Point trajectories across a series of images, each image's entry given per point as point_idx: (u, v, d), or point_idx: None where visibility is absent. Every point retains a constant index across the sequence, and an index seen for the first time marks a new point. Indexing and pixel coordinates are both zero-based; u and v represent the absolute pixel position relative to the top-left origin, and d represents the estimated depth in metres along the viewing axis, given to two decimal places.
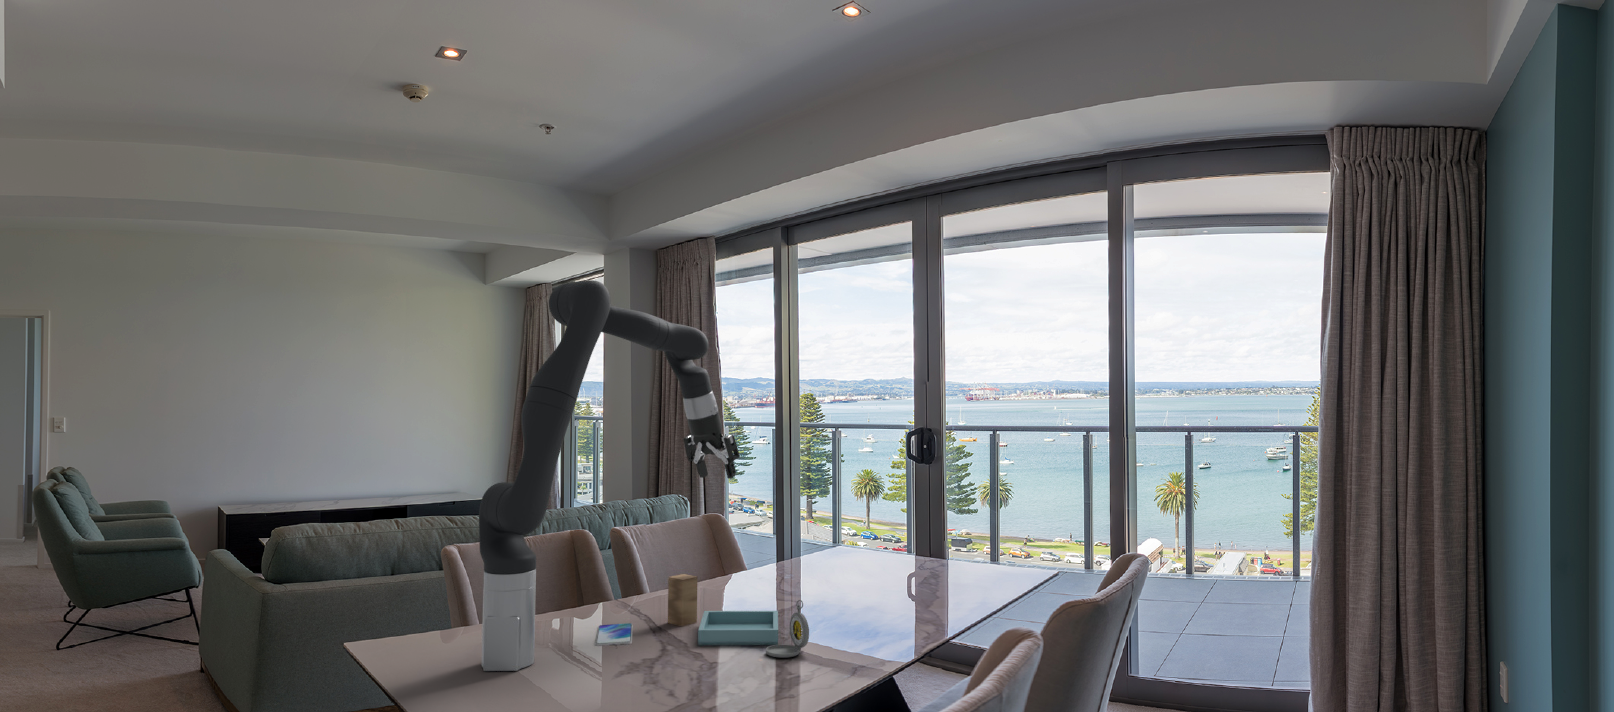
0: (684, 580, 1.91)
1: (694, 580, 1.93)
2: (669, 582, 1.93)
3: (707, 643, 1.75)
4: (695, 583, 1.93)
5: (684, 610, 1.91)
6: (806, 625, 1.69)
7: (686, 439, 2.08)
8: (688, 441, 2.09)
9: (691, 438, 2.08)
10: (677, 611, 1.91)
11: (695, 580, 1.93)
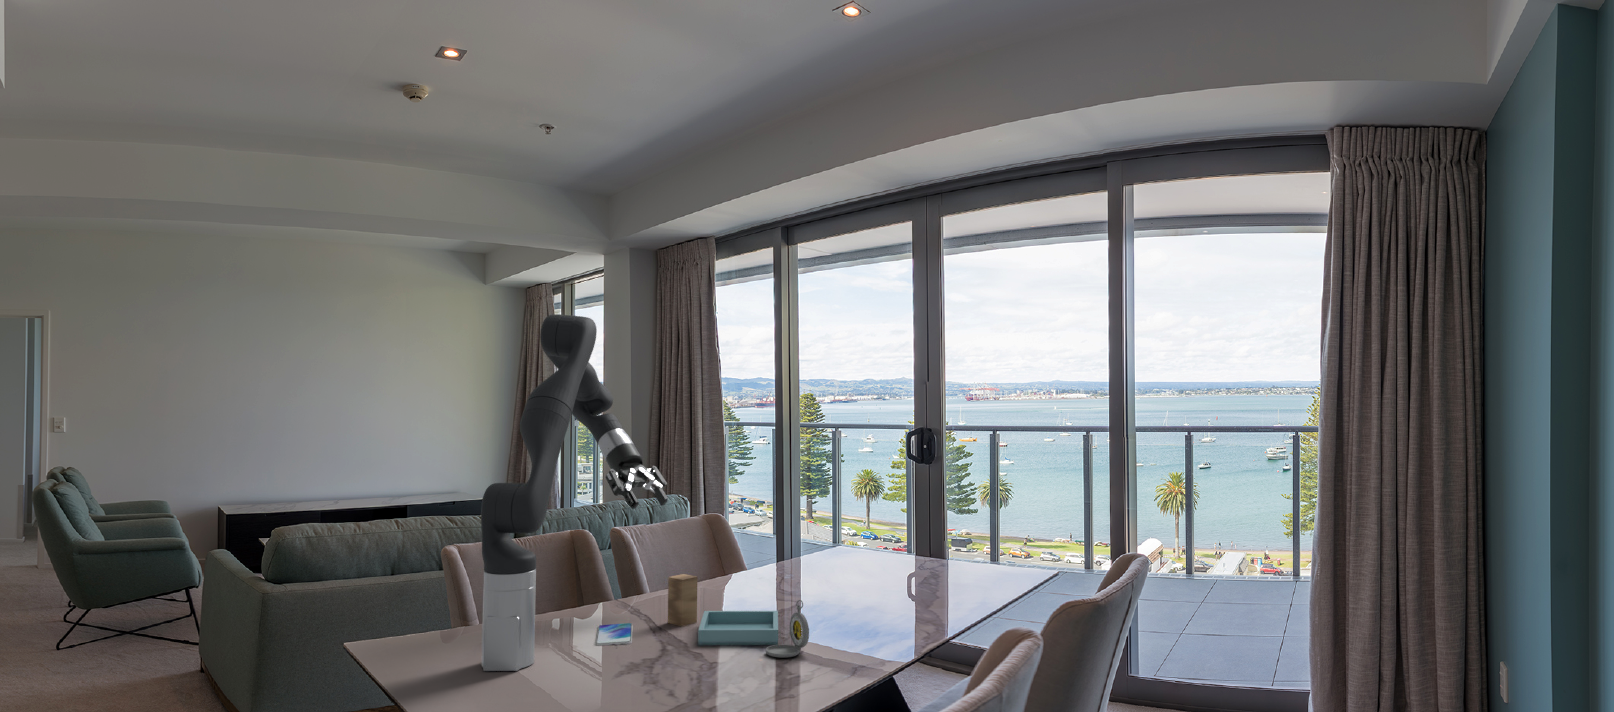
0: (684, 580, 1.91)
1: (694, 580, 1.93)
2: (669, 582, 1.93)
3: (707, 643, 1.75)
4: (695, 583, 1.93)
5: (684, 610, 1.91)
6: (806, 625, 1.69)
7: (613, 470, 2.01)
8: None
9: (615, 472, 2.02)
10: (677, 611, 1.91)
11: (695, 580, 1.93)
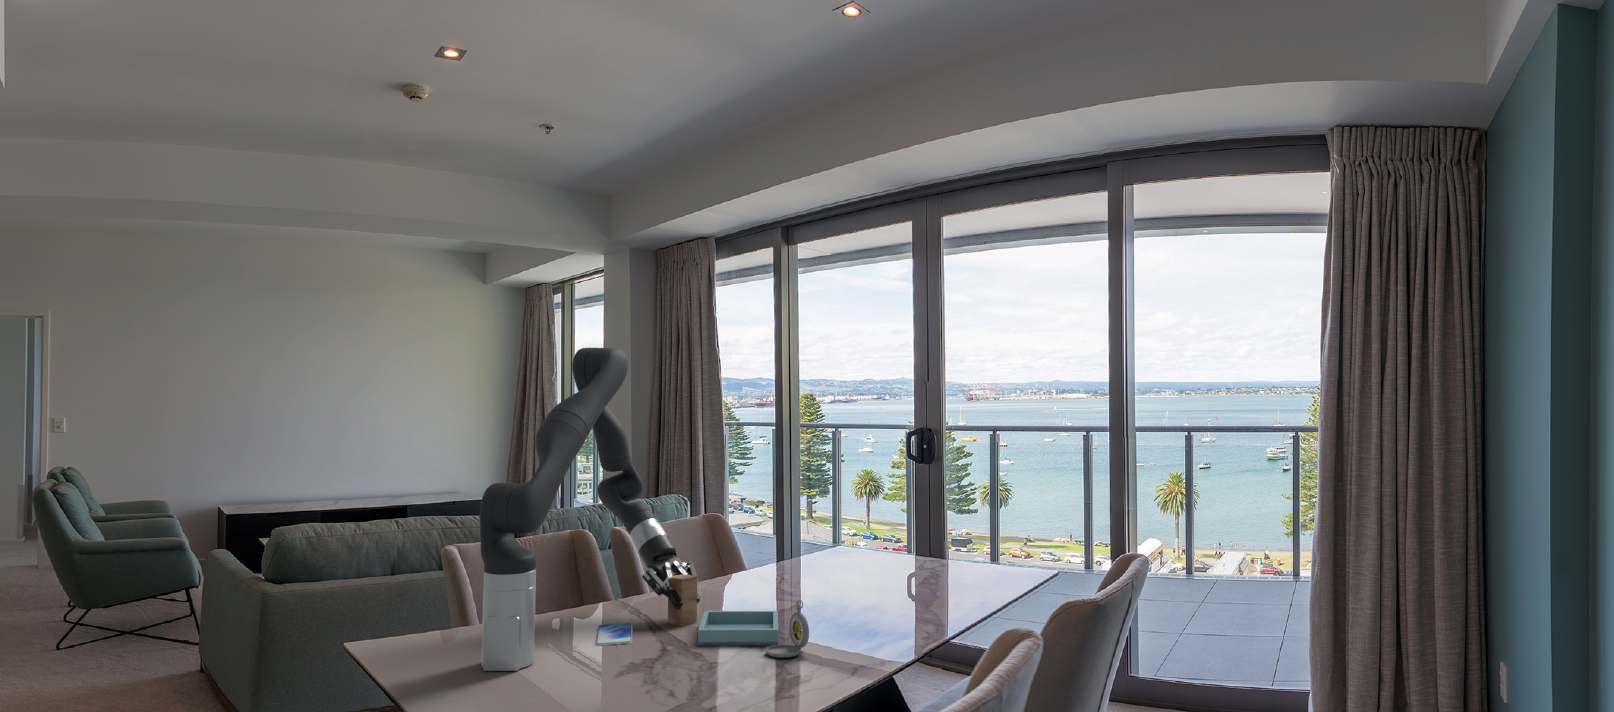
0: (684, 580, 1.91)
1: (694, 580, 1.93)
2: None
3: (707, 643, 1.75)
4: (695, 583, 1.93)
5: (683, 609, 1.91)
6: (806, 625, 1.69)
7: (650, 569, 1.92)
8: None
9: (651, 569, 1.93)
10: (677, 611, 1.91)
11: (695, 580, 1.93)
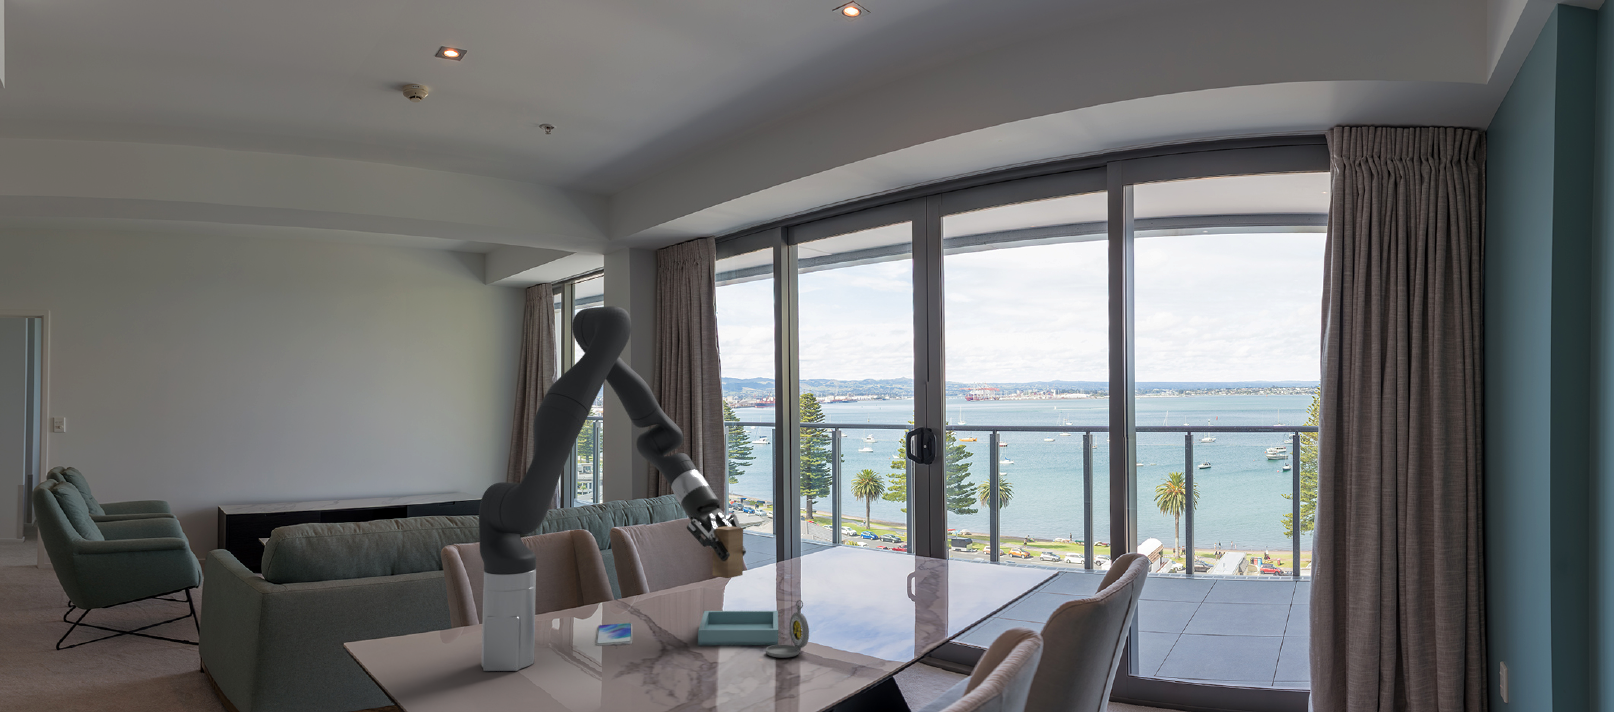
0: (730, 531, 1.84)
1: (739, 532, 1.87)
2: None
3: (707, 643, 1.75)
4: (741, 534, 1.87)
5: (730, 561, 1.84)
6: (806, 625, 1.69)
7: (695, 519, 1.85)
8: None
9: None
10: (723, 563, 1.84)
11: (741, 531, 1.87)
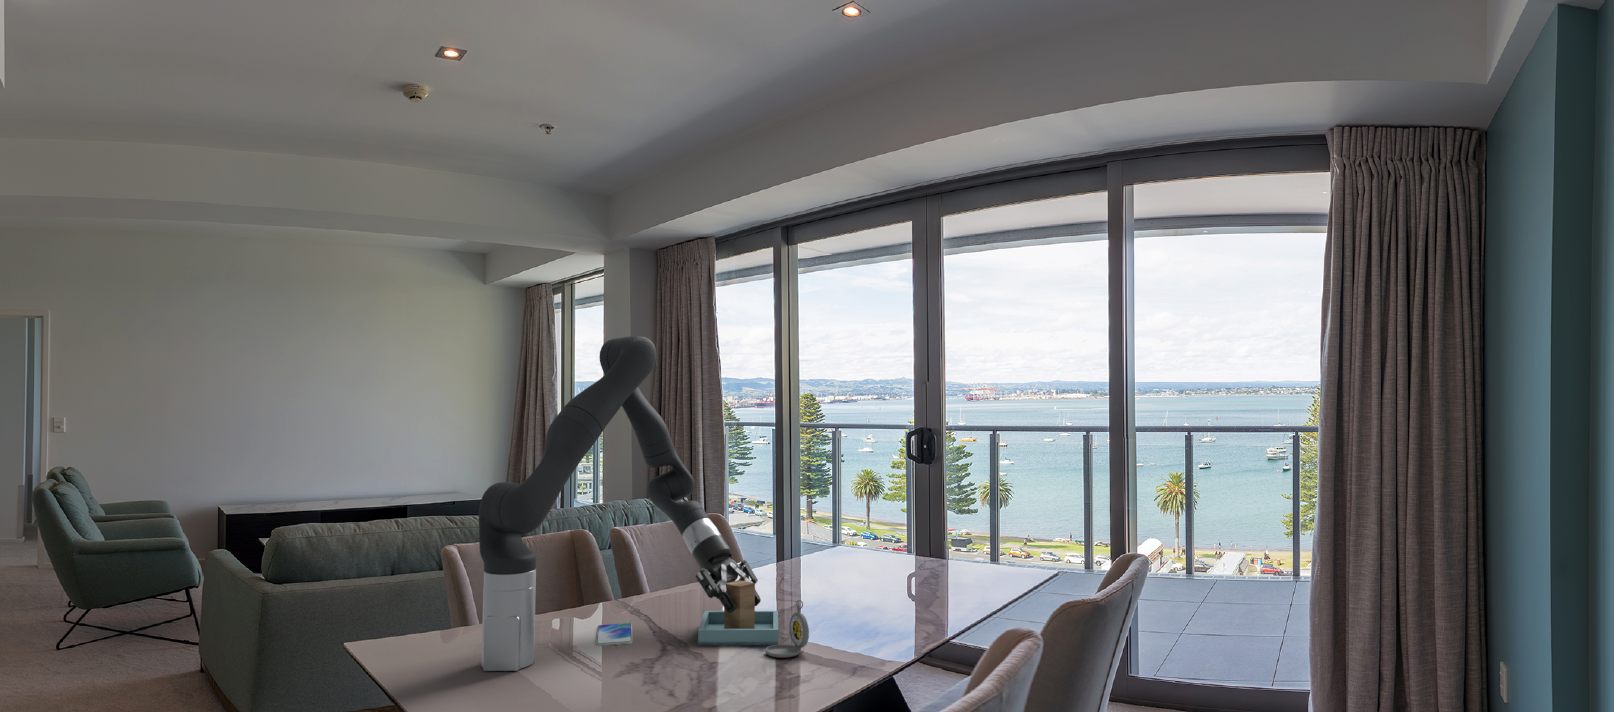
0: (742, 587, 1.81)
1: (751, 587, 1.84)
2: None
3: (707, 643, 1.75)
4: (752, 590, 1.84)
5: (741, 618, 1.81)
6: (806, 625, 1.69)
7: (704, 569, 1.83)
8: None
9: (706, 570, 1.84)
10: (735, 619, 1.81)
11: (753, 587, 1.84)
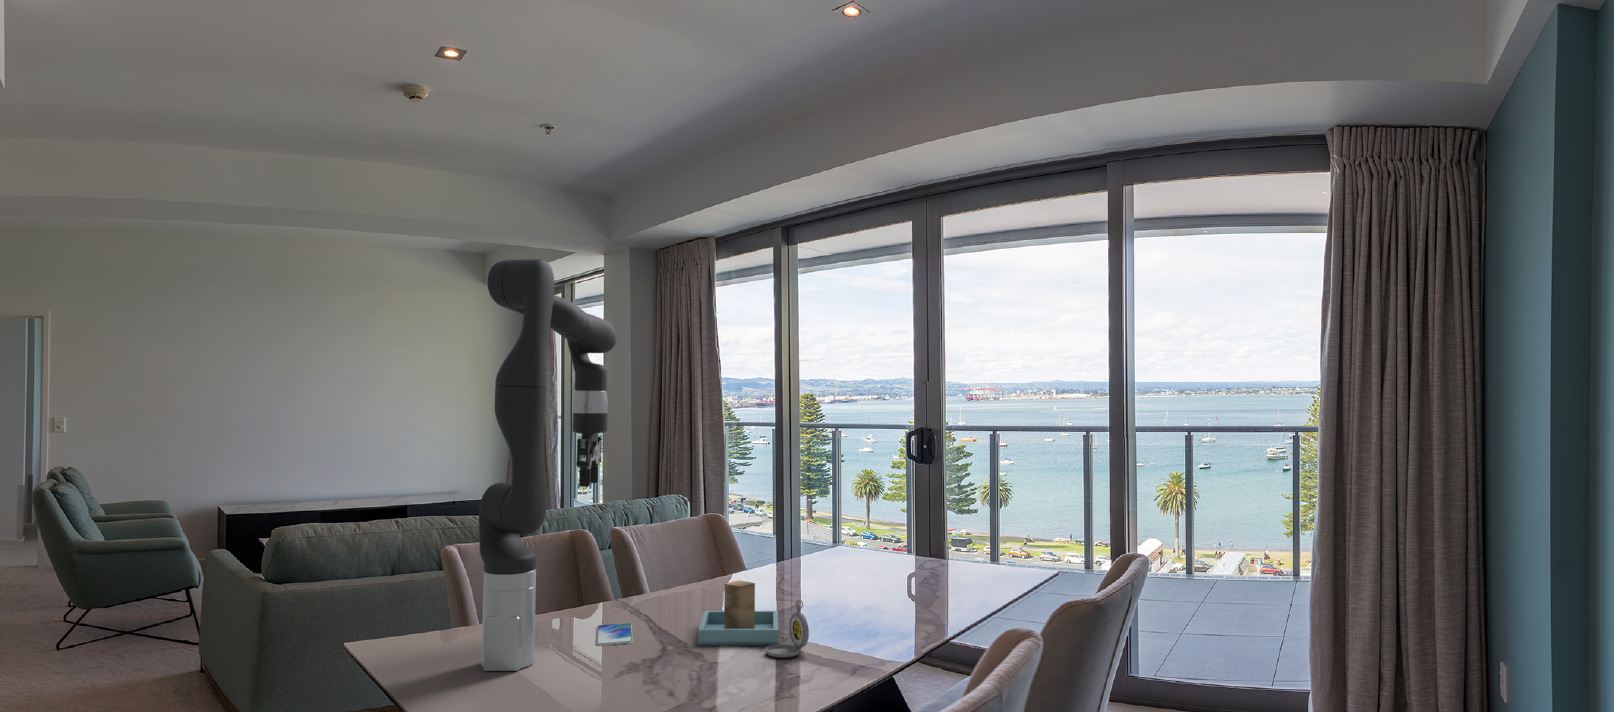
0: (742, 587, 1.81)
1: (751, 587, 1.84)
2: (725, 589, 1.84)
3: (707, 643, 1.75)
4: (752, 590, 1.84)
5: (741, 618, 1.81)
6: (806, 625, 1.69)
7: None
8: None
9: None
10: (735, 619, 1.81)
11: (753, 587, 1.84)
